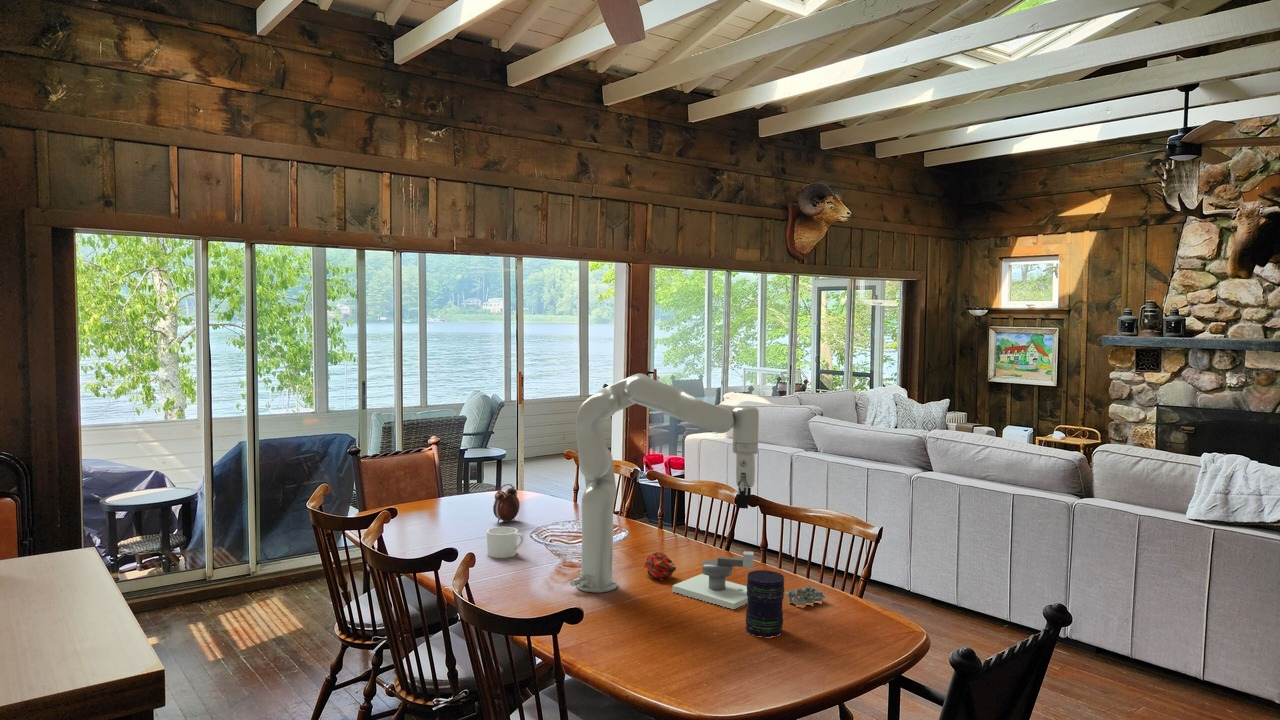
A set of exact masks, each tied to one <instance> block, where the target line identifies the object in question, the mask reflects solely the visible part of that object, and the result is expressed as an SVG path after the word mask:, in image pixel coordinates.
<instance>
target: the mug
mask: <svg viewBox="0 0 1280 720" xmlns="http://www.w3.org/2000/svg"><path fill="white" fill-rule="evenodd" d="M518 537H520V541H519V543H518ZM524 539H525V538H524V535H523V534H522V533H520V532H519V531H518V529H517V528H515V527H512V526H496V527H495V526H494V527H491V528H488V529H487V530H486V546H487V547H486V549H487V551H486V552H487V556H489V557H490V558H495V559H507V558H512V557H515V556H516V555H517V552H518V549H519V548H520V546H521V545H522V544H523V543H524Z"/></svg>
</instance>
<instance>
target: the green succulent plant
mask: <svg viewBox="0 0 1280 720" xmlns="http://www.w3.org/2000/svg"><path fill="white" fill-rule="evenodd" d="M784 596H787V601H789V602H795V604H796V605H803V606H804V605H806V603H815V601H823V602H824V599H826V596H827V593H826V594H824V593H823V592H822V591H820V590H819V589H817V588H814V587H813V586H812V585H809V586H807V587H803V588H801V587H800V588H797V589H794V590H791V589H790V590H789V589H788V590H786V591H785V593H784ZM797 596H800V598H798V597H797Z"/></svg>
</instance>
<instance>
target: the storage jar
mask: <svg viewBox="0 0 1280 720" xmlns="http://www.w3.org/2000/svg"><path fill="white" fill-rule="evenodd" d="M746 586H747V596H748V603H747V604H746V605H747V607H746V610H745V625H746V626H745V631H746V630H747V632H748V633H750V634H753V635H755V636H762V637H771V636H777V635H779V634H780V633H782V634H783V624H784V612H783V600H784V597H785V593H784V592H785V576H784V575H783V574H782V573H780V572H777V571H772V570H765V569H763V570H762V569H761V570H753V571H749V572H748V573H747V583H746ZM747 632H746V633H747ZM748 633H747V634H748ZM750 634H749V635H750Z"/></svg>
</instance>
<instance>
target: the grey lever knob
mask: <svg viewBox="0 0 1280 720" xmlns="http://www.w3.org/2000/svg"><path fill="white" fill-rule="evenodd" d="M742 554H743V555H742V557H733V556H732V557H730V556H717V559H714V558H713V559H706V560H704V561H702V569H701V570H702V571H701V572H702V574H704V575H707V576H712V577H730V576H732V575H733V569H734V567H739V568H744V569H745V568H746V569H754V556H755V555H754V554H755V553H754V551H745V550H743V553H742Z"/></svg>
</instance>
